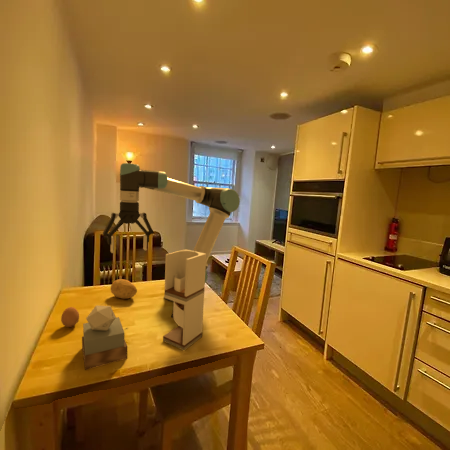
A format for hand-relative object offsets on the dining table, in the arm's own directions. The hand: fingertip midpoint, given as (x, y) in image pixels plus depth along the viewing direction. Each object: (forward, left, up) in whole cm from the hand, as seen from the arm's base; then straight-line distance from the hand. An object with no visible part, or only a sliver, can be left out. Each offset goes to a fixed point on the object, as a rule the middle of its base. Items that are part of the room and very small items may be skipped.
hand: (128, 251), depth 113 cm
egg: (+22, -5, -32) cm, 39 cm away
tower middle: (+13, +20, -27) cm, 36 cm away
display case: (-16, +24, -32) cm, 43 cm away
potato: (-3, -25, -32) cm, 41 cm away
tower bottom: (+12, +20, -32) cm, 40 cm away
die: (+13, +20, -22) cm, 33 cm away
